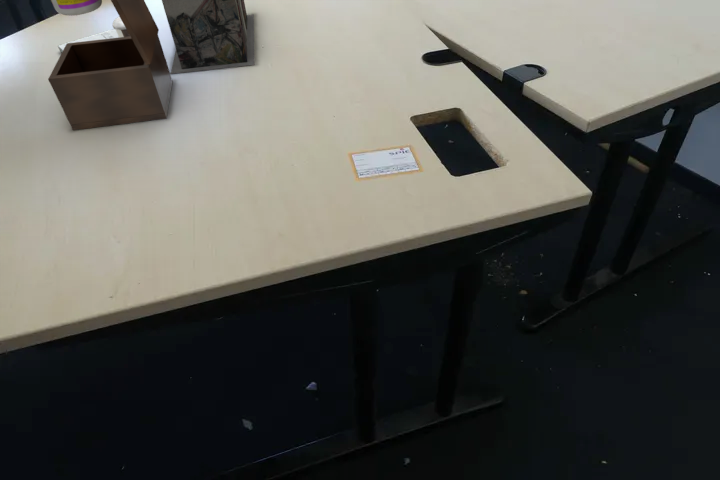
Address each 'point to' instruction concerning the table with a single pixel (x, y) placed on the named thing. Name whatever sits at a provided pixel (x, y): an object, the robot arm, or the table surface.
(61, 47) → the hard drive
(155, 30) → the lid
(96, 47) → the chest
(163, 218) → the table surface
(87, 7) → the supplement bottle
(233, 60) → the bookend
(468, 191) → the table surface
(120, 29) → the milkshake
